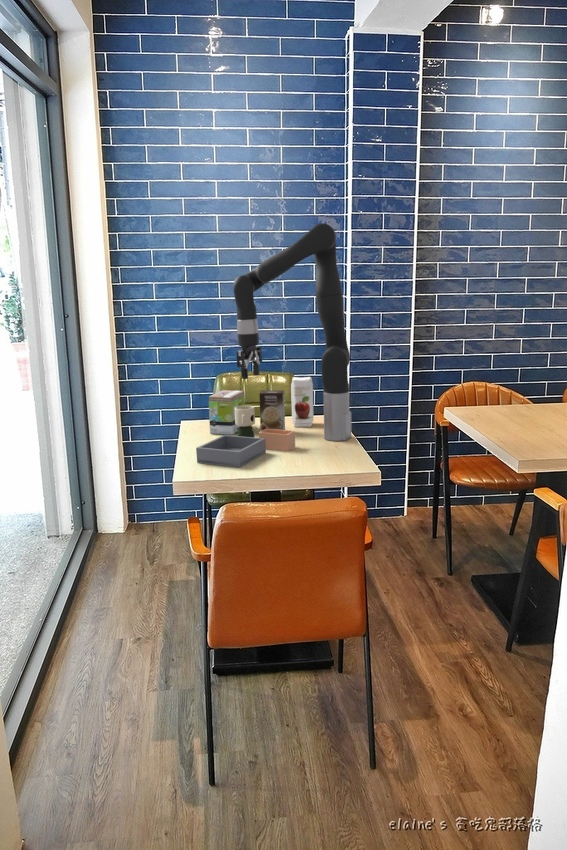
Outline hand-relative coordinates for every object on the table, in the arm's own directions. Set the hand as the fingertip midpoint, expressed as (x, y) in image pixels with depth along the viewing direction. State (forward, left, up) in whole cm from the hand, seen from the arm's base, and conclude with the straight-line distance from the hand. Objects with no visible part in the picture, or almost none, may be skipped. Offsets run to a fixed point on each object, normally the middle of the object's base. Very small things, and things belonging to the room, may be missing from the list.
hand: (250, 377), depth 237 cm
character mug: (0, +7, -23) cm, 24 cm away
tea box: (+16, -8, -23) cm, 29 cm away
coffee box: (-3, -9, -23) cm, 25 cm away
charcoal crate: (-5, +26, -23) cm, 35 cm away
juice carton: (-9, -24, -23) cm, 35 cm away
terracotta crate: (-14, +10, -23) cm, 29 cm away
